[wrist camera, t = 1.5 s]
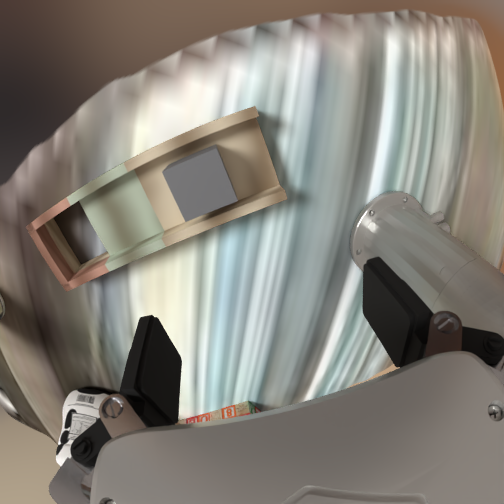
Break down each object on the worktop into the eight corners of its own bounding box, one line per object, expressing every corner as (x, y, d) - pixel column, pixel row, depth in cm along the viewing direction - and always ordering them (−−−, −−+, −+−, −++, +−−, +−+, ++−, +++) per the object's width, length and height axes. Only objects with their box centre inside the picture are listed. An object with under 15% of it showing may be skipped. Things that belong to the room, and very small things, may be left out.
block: (216, 144, 25) (216, 148, 21) (234, 189, 27) (237, 201, 24) (168, 164, 25) (161, 172, 22) (189, 207, 27) (185, 222, 24)
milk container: (117, 427, 51) (110, 488, 35) (58, 393, 43) (40, 458, 28) (158, 411, 48) (155, 487, 32) (89, 371, 40) (68, 454, 24)
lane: (249, 107, 25) (255, 106, 22) (278, 188, 30) (287, 199, 26) (42, 214, 27) (26, 226, 23) (77, 274, 31) (66, 291, 28)
